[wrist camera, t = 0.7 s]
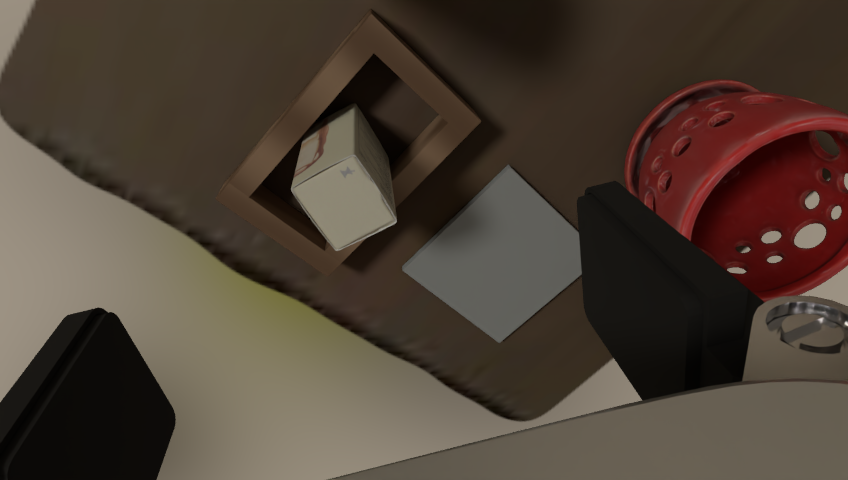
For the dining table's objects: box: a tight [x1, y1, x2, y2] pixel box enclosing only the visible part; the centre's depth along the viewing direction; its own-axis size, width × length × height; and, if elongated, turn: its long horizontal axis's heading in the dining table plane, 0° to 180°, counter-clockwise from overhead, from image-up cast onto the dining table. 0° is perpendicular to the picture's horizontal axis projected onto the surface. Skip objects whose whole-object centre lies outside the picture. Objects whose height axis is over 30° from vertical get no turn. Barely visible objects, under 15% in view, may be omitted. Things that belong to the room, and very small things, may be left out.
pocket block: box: [216, 9, 481, 277], centre depth 38 cm, size 16×10×3 cm, turn 136°
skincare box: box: [291, 103, 397, 251], centre depth 35 cm, size 5×4×10 cm
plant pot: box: [624, 79, 848, 302], centre depth 37 cm, size 13×13×12 cm
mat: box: [402, 165, 582, 343], centre depth 45 cm, size 12×12×1 cm
